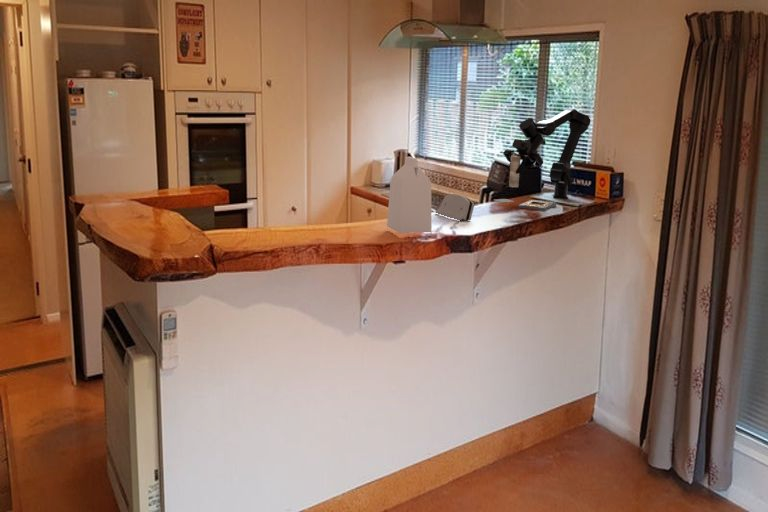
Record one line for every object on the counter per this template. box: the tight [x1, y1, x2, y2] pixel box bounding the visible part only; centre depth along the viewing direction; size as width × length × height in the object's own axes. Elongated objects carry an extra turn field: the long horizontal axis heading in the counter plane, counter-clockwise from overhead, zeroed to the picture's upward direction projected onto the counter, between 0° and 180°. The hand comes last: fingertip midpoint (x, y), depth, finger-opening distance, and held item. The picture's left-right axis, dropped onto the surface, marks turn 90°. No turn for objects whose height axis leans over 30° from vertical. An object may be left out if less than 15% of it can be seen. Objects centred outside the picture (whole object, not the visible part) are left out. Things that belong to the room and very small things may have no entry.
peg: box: [508, 156, 521, 188], centre depth 293 cm, size 4×4×13 cm
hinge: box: [435, 193, 475, 221], centre depth 263 cm, size 17×5×10 cm, turn 31°
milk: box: [386, 156, 432, 233], centre depth 231 cm, size 12×12×26 cm
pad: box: [494, 198, 516, 203], centre depth 301 cm, size 7×7×1 cm
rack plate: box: [518, 199, 557, 212], centre depth 289 cm, size 16×11×2 cm
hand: (512, 172), depth 292 cm, fingers closed on peg, 4 cm apart
